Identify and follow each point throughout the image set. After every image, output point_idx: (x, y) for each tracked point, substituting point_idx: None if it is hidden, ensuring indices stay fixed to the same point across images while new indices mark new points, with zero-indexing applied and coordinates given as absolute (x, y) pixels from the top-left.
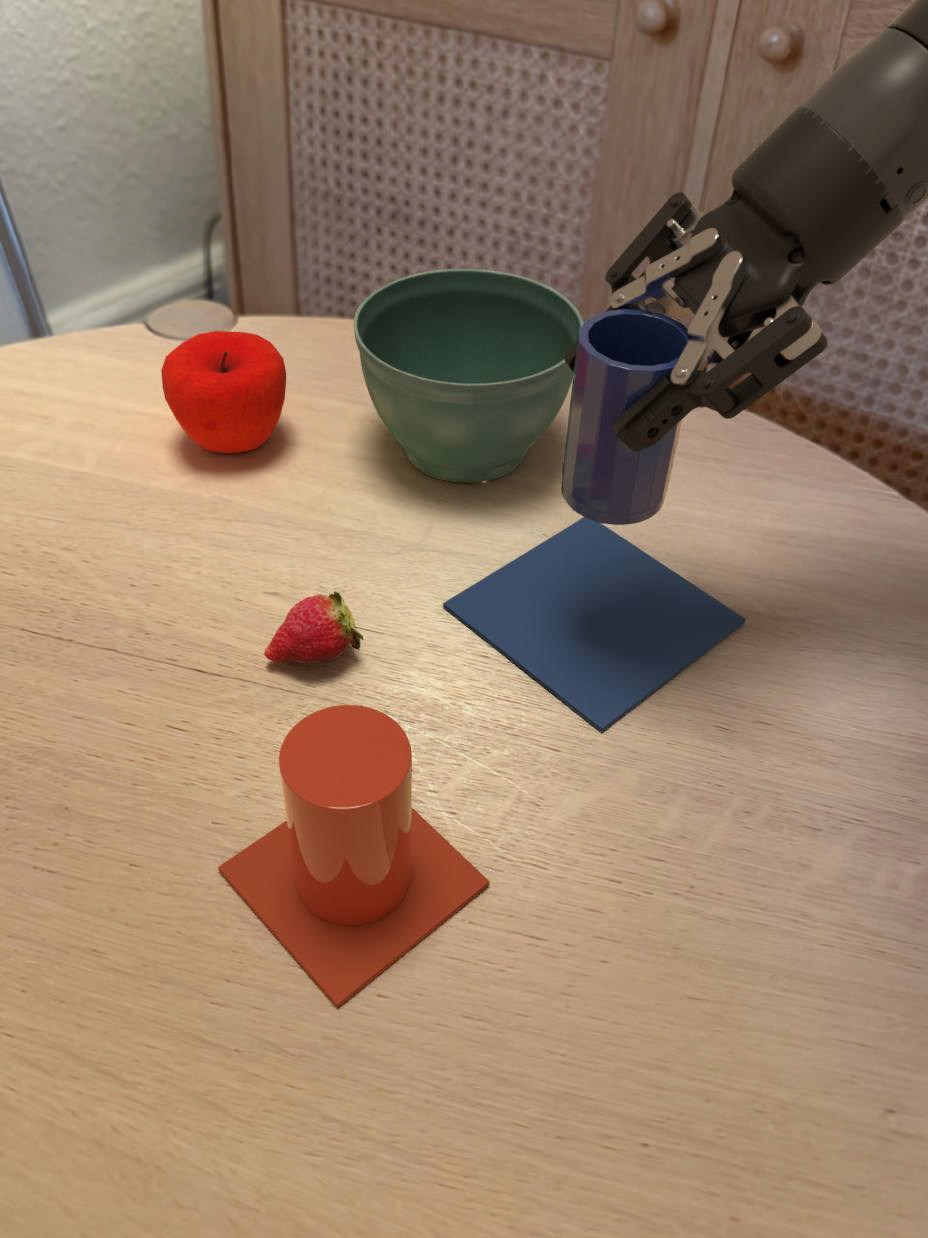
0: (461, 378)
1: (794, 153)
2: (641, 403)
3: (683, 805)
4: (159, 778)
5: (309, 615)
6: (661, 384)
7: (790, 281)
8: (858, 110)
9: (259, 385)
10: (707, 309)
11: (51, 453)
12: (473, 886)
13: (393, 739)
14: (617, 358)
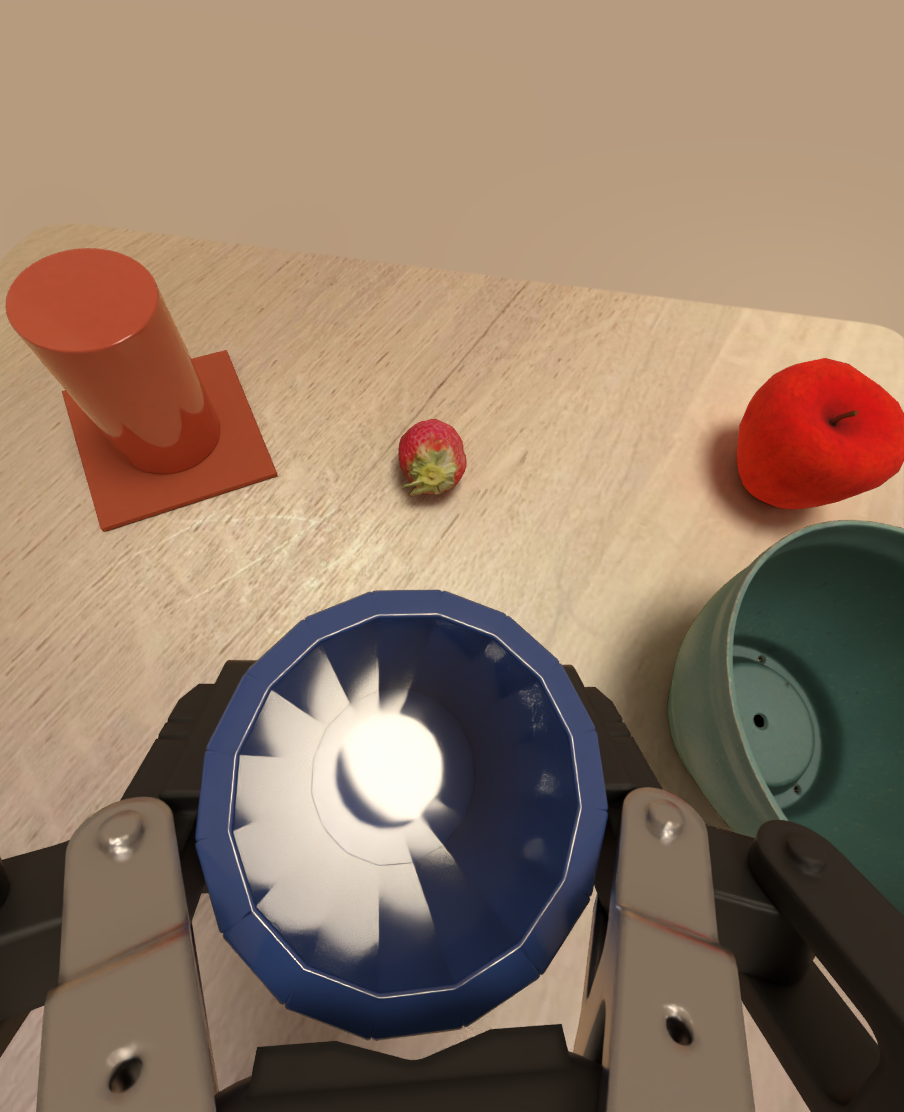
0: (872, 748)
1: None
2: (215, 715)
3: (84, 760)
4: (335, 338)
5: (425, 428)
6: (190, 776)
7: None
8: None
9: (796, 443)
10: (131, 1099)
11: (748, 334)
12: (103, 514)
13: (74, 338)
14: (530, 795)
